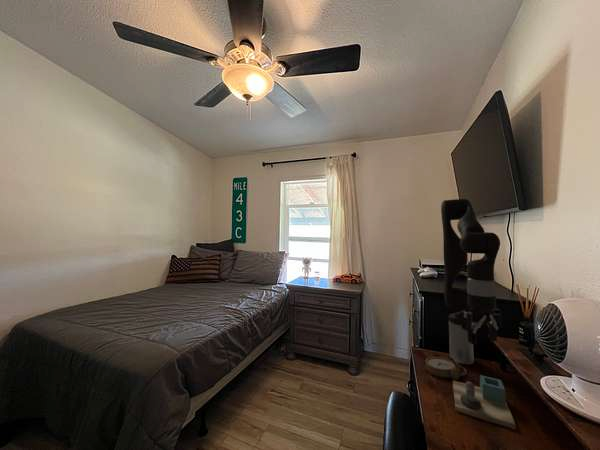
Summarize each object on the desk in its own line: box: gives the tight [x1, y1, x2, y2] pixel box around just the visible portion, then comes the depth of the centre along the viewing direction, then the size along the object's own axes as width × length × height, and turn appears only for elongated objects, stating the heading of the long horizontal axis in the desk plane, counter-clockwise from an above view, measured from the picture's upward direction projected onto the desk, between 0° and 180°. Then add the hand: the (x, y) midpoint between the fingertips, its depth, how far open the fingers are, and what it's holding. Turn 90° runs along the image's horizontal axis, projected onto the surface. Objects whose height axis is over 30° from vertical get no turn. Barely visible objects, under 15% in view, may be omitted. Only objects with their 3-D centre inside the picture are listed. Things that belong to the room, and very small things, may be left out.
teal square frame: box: [479, 374, 507, 405], centre depth 82 cm, size 6×6×5 cm
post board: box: [452, 379, 517, 430], centre depth 81 cm, size 16×15×8 cm
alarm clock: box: [423, 356, 468, 381], centre depth 99 cm, size 11×5×15 cm
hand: (482, 341), depth 77 cm, fingers open, 8 cm apart
